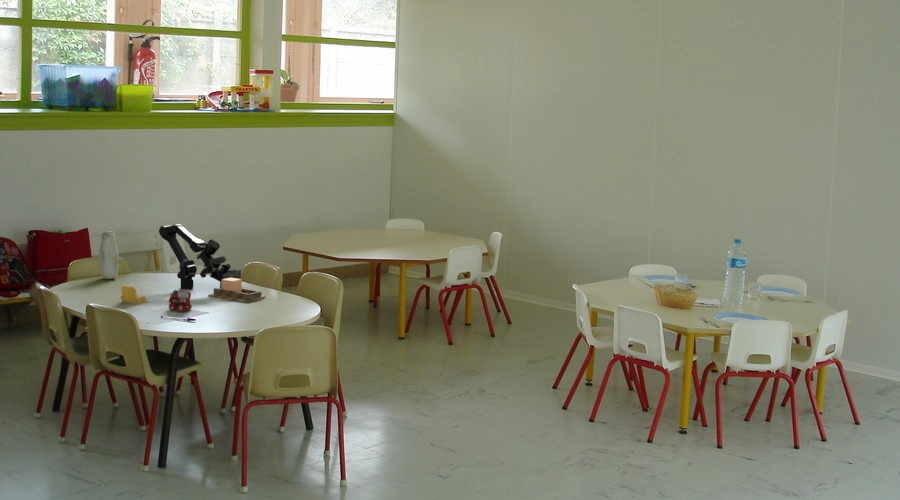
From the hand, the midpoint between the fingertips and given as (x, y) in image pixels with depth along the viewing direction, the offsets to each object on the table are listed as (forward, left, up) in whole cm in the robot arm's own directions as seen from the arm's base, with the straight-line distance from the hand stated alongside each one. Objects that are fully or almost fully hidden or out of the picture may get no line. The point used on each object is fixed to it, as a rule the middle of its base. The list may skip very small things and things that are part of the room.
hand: (223, 282), depth 535 cm
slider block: (+4, -4, -5) cm, 8 cm away
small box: (+4, +20, -7) cm, 21 cm away
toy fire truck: (-23, -36, -7) cm, 43 cm away
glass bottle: (-63, +52, -7) cm, 81 cm away
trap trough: (+7, -7, -7) cm, 12 cm away
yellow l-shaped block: (-46, -13, -7) cm, 48 cm away
